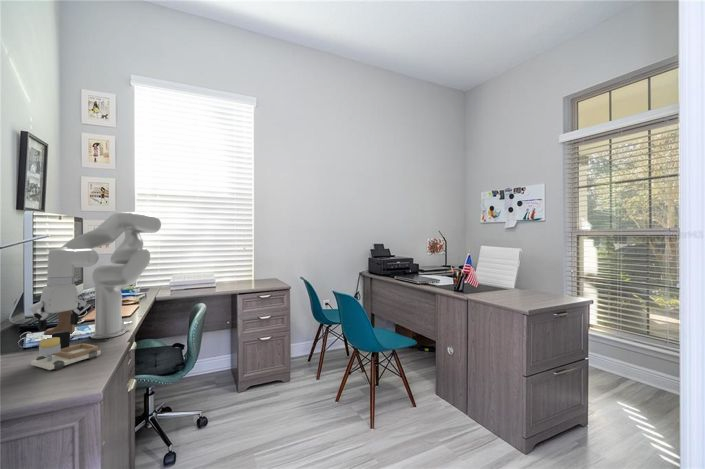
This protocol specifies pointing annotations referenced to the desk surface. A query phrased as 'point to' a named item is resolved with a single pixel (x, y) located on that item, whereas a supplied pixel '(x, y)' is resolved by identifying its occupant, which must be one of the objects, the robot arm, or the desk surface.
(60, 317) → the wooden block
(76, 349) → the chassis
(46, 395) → the desk surface
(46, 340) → the yellow white block
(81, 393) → the desk surface
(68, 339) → the ink cartridge
